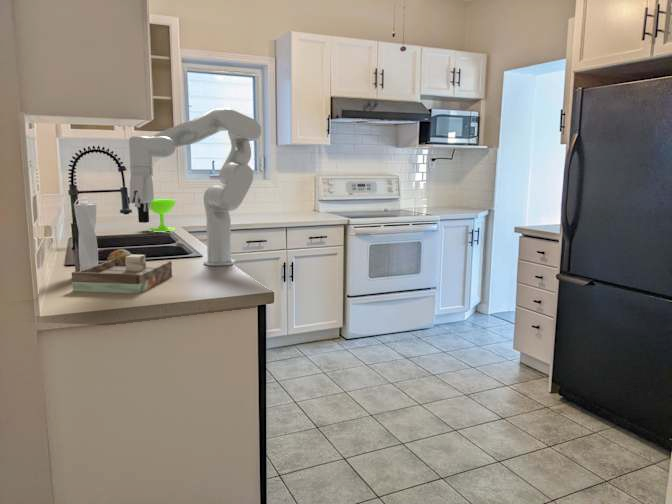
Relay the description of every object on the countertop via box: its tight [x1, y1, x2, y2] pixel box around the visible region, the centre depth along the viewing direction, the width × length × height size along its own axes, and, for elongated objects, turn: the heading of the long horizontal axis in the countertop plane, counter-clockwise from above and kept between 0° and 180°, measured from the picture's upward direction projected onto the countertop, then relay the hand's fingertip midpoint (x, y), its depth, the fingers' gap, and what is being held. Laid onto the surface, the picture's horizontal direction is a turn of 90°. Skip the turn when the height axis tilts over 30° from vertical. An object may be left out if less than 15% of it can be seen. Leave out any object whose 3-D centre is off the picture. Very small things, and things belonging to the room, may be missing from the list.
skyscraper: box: [73, 196, 99, 272], centre depth 191 cm, size 8×8×28 cm
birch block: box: [125, 254, 147, 271], centre depth 187 cm, size 5×5×5 cm
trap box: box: [71, 259, 173, 294], centre depth 180 cm, size 26×22×6 cm
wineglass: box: [148, 198, 176, 231], centre depth 312 cm, size 16×16×18 cm
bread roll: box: [106, 248, 133, 267], centre depth 212 cm, size 10×10×8 cm
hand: (143, 222), depth 193 cm, fingers closed
